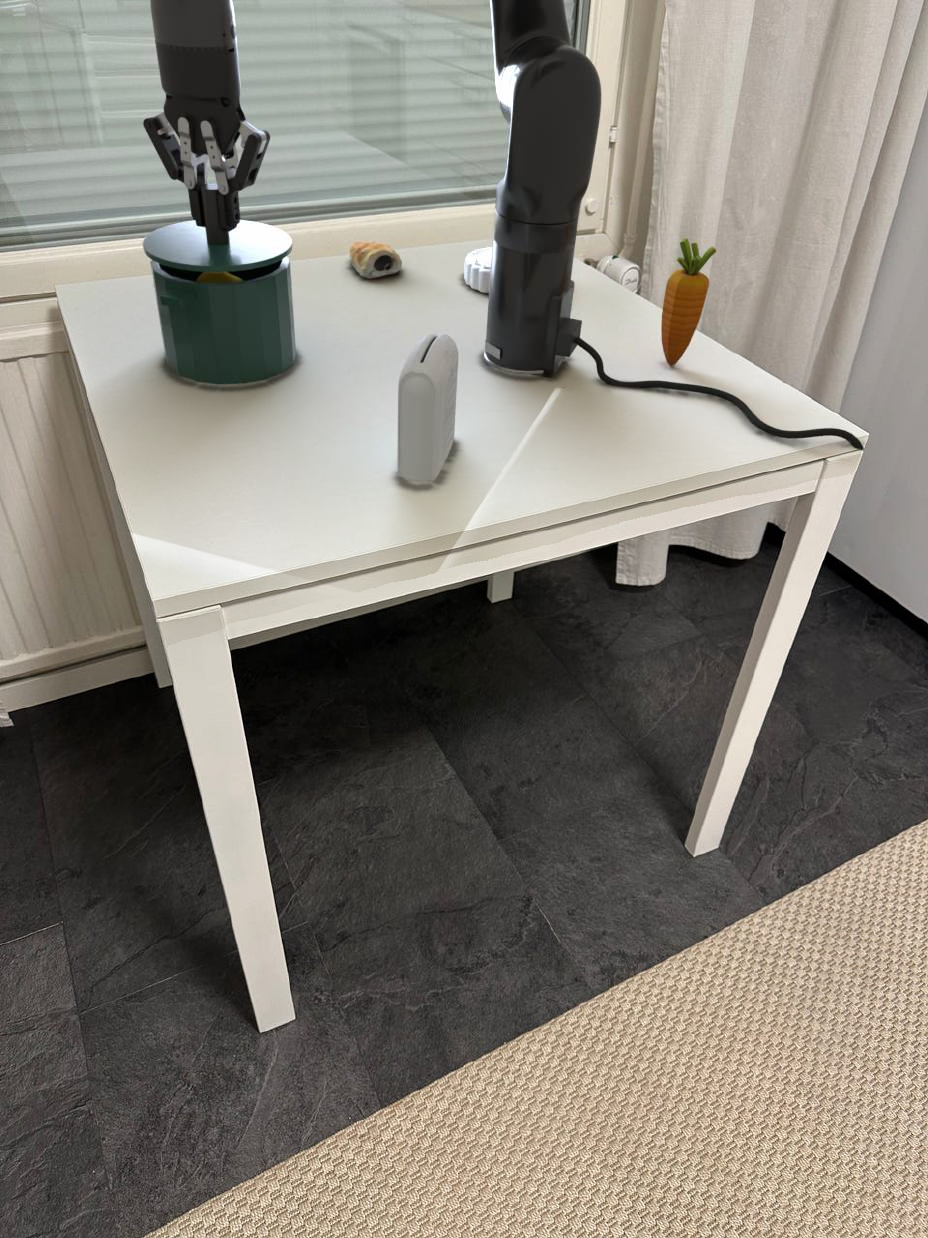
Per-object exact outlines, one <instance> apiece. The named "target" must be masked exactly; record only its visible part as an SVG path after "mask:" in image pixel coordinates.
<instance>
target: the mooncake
mask: <svg viewBox="0 0 928 1238" xmlns="http://www.w3.org/2000/svg"><path fill="white" fill-rule="evenodd" d="M491 259H492V246H488V247H482V248H478V249H474V250H473V251H471V252H469V253H467V254H466V257H465V259H464V269H463V270H464V272H463V273H464V274H463V279H464V280H465V284H466V285H467V286H470V288H471V289H473V290H474V291H475V290H476V291H478V292H480V293H482V294H489V287H490V273H491Z"/></svg>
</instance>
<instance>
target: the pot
mask: <svg viewBox="0 0 928 1238" xmlns="http://www.w3.org/2000/svg"><path fill="white" fill-rule="evenodd" d="M149 263H150V268H151V269H150V270H151V275H152V276H151V277H152V281H153V288H154V294H155V299H156V306H157V312H158V319H159V325H160V330H161V332H160V333H161V337H162V343H163V350H164V356H165V359H166V363H167V367H168V368H169V369H170V370H171V371H172V372H174V374H176V375H177V376H179V377H182V378H184V379H187V380H191V381H194V382H197V383H204V384H211V385H212V384H213V385H219V386H220V385H244V384H250V383H255V382H261V381H265V380H268V379H270V378H272V377H273V378H274V377H275V376H278V375H280V374H282V373H284V372H286V371H287V370H288V369H289V368H290V367H293V365H294V363H295V360H296V357H297V348H296V333H295V331H296V329H295V315H294V303H293V302H294V301H293V287H292V272H291V261H290V259H289V257H288V256H286V257H285V258H284V259H282V260H280V261H278V262H275V263H273V264H270V265H267V266H263V267H259V268H254V269H249V270H241V271H230V272H227V273H229V274H231V275H233V276H236V277H239V278H240V279H242V280H243V281H238V282H231V283H207V282H198V281H196V280H197V279H198V277H199V276H200V275H201V274H203V273H204V272H201V271H190V270H183V269H177V268H173V267H169V266H165V265H162V264H160V263H157V262H155V261H153V260H152V259H150V262H149Z"/></svg>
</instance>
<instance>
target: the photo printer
mask: <svg viewBox="0 0 928 1238" xmlns="http://www.w3.org/2000/svg"><path fill="white" fill-rule="evenodd" d="M404 361H405V362H404V363H403V366H402V368H401V371H400V374H399V378H398V387H397V453H396V455H397V457H396V458H397V462H396V463H397V467H396V468H397V469H396V470H397V477H398V478H399V477H400V478H402V479H404V480H405V481H409V482H412V483H427V482H430V483H431V482H434V481H435V480H436V479H437V478H438V476H439V475H440V473H441V471H442V469H443V467H444V465H445V463H446V461H447V459H448V456H449V455H450V452H451V449H452V447H453V445H454V441H455V429H456V409H457V389H458V372H459V371H458V370H459V348H458V345H457V344H456V341H455V340H454V339H453V338H452V336H451V335H449V334H448V333H442V334H441V333H437V332H431V333H428V334H426V335H424V336H423V337H421V339H419V340H418V341H417V342H416V344H415V345H414V346H413V347H412V348H411V350H410V351H409V354H408V355H407V357H406V359H405V360H404Z"/></svg>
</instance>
